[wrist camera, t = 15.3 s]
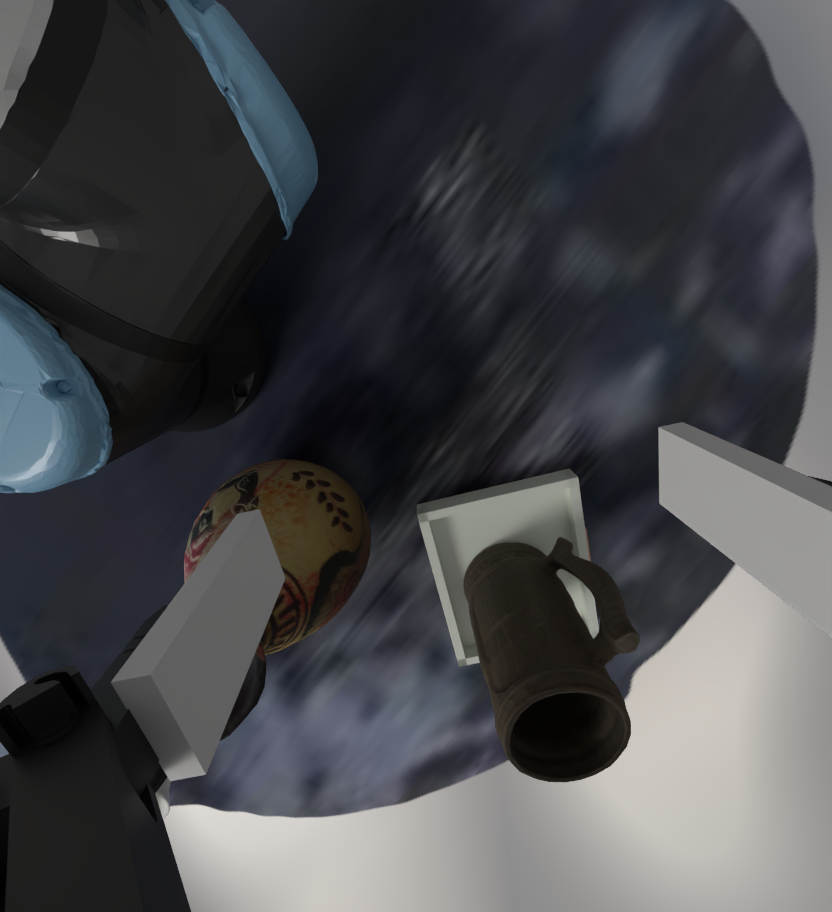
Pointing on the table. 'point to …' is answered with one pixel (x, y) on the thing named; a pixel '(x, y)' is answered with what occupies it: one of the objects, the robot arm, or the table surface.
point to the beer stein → (549, 659)
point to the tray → (503, 541)
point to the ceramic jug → (289, 555)
